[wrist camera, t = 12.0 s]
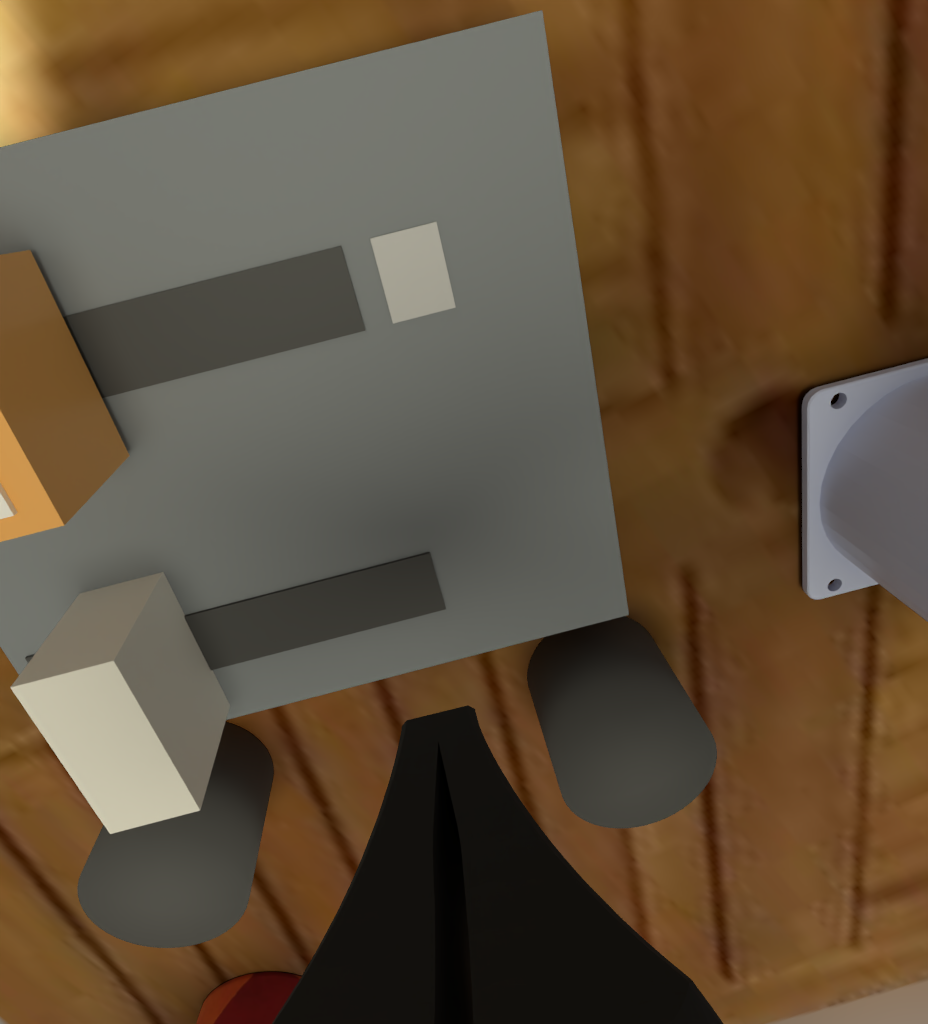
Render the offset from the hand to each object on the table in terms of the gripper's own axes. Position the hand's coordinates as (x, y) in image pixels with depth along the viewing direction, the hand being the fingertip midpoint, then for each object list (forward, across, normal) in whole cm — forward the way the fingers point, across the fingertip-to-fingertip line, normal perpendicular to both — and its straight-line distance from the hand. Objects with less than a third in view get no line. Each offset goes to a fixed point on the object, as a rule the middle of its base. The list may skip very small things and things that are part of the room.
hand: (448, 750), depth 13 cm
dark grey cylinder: (+10, -5, +8) cm, 13 cm away
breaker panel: (+10, +3, -4) cm, 11 cm away
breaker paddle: (+7, +8, -8) cm, 13 cm away
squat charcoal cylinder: (+10, +10, +8) cm, 16 cm away
